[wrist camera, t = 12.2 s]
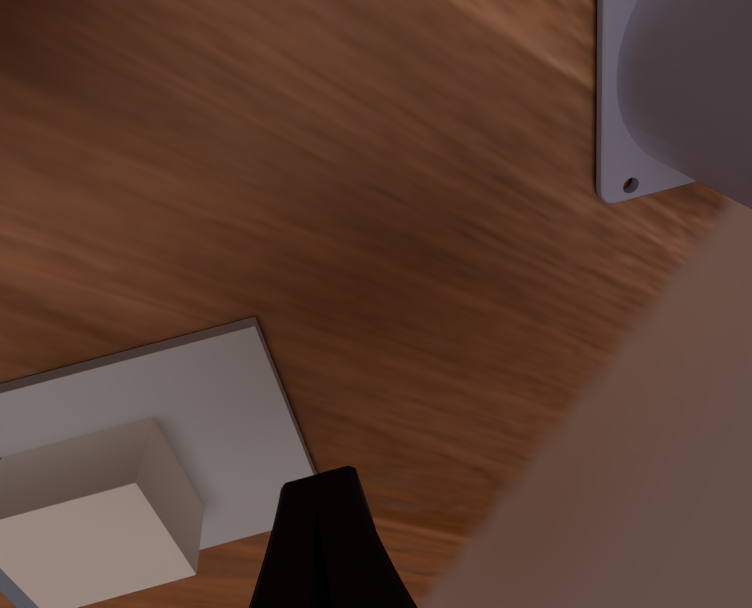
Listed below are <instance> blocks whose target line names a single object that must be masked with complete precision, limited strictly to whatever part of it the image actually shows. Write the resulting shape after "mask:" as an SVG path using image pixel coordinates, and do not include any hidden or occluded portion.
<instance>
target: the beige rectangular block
mask: <svg viewBox="0 0 752 608" xmlns="http://www.w3.org/2000/svg"><path fill="white" fill-rule="evenodd" d="M203 514H204V504H203V502H202V501H201V499H200V497H199V496H198V494H197V492H196V490H195V489H194V487H193V485H192V483H191V482H190V480H189V478H188V477H187V475H186V473H185V471H184V470H183V468H182V466H181V464H180V463H179V461H178V459H177V458H176V456H175V454H174V452H173V451H172V449H171V447H170V445H169V444H168V442H167V440H166V439H165V437H164V435H163V433H162V432H161V430H160V428H159V426H158V425H157V423H156V421H155V420H154V418H153V417H150V418H146V419H142V420H139V421H135V422H131V423H127V424H124V425H120V426H116V427H112V428H109V429H105V430H101V431H98V432H94V433H90V434H86V435H83V436H79V437H75V438H71V439H68V440H64V441H60V442H56V443H53V444H49V445H45V446H42V447H38V448H34V449H30V450H27V451H23V452H19V453H15V454H12V455H8V456H4V457H1V458H0V591H1V592H2V593H3V594H4V595H5V596H6V597H7V598H8V599H9V600H10V601H11V602H12V603H13V604H14V605H15V606H16V607H17V608H77V607H81V606H85V605H88V604H92V603H95V602H99V601H103V600H106V599H110V598H114V597H117V596H121V595H124V594H128V593H132V592H135V591H139V590H142V589H146V588H150V587H153V586H157V585H161V584H164V583H168V582H171V581H175V580H179V579H182V578H186V577H189V576H193V575H196V573H197V564H198V556H199V548H200V539H201V531H202V523H203Z"/></svg>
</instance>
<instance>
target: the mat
mask: <svg viewBox="0 0 752 608" xmlns="http://www.w3.org/2000/svg"><path fill="white" fill-rule="evenodd" d="M150 417H153V418H154V420H155V421H156V423H157V425H158V426H159V428H160V430H161V432H162V433H163V435H164V437H165V439H166V440H167V442H168V444H169V445H170V447H171V449H172V451H173V452H174V454H175V456H176V458H177V459H178V461H179V463H180V464H181V466H182V468H183V470H184V471H185V473H186V475H187V477H188V478H189V480H190V482H191V483H192V485H193V487H194V489H195V490H196V492H197V494H198V496H199V497H200V499H201V501H202V502H203V504H204V514H203V523H202V531H201V539H200V548H199V550H201V549H205V548H208V547H212V546H215V545H219V544H223V543H226V542H230V541H234V540H237V539H241V538H245V537H248V536H252V535H255V534H259V533H263V532H266V531H270V530H272V528H273V524H274V520H275V515H276V511H277V506H278V502H279V497H280V491H281V488H282V487H283V485H284V484H285V483H286V482H290V481H294V480H297V479H301V478H305V477H308V476H312V475H316V474H317V473H316V471H315V468H314V465H313V463H312V460H311V458H310V455H309V453H308V450H307V448H306V445H305V442H304V440H303V437H302V435H301V432H300V430H299V427H298V425H297V422H296V419H295V417H294V414H293V412H292V409H291V407H290V404H289V402H288V399H287V396H286V394H285V391H284V389H283V386H282V384H281V381H280V379H279V376H278V373H277V371H276V368H275V366H274V363H273V361H272V358H271V356H270V353H269V350H268V348H267V345H266V343H265V340H264V338H263V335H262V333H261V330H260V327H259V325H258V322H257V320H256V317H252V318H248V319H244V320H240V321H237V322H233V323H229V324H225V325H222V326H218V327H214V328H210V329H206V330H203V331H199V332H195V333H191V334H187V335H184V336H180V337H176V338H172V339H169V340H165V341H161V342H157V343H153V344H150V345H146V346H142V347H138V348H135V349H131V350H127V351H123V352H119V353H116V354H112V355H108V356H104V357H100V358H97V359H93V360H89V361H85V362H82V363H78V364H74V365H70V366H66V367H63V368H59V369H55V370H51V371H47V372H44V373H40V374H36V375H32V376H29V377H25V378H21V379H17V380H13V381H10V382H6V383H2V384H0V458H1V457H4V456H8V455H12V454H15V453H19V452H23V451H27V450H30V449H34V448H38V447H42V446H45V445H49V444H53V443H56V442H60V441H64V440H68V439H71V438H75V437H79V436H83V435H86V434H90V433H94V432H98V431H101V430H105V429H109V428H112V427H116V426H120V425H124V424H127V423H131V422H135V421H139V420H142V419H146V418H150Z"/></svg>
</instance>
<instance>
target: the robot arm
mask: <svg viewBox="0 0 752 608" xmlns="http://www.w3.org/2000/svg"><path fill="white" fill-rule="evenodd" d="M630 178H632V182H631V184H630V185H629V187H627V188H625V189H623V186H624V183H625V182H626V181H627V180H628V179H630ZM697 181H698V182H700V183H702V184H704V185H706V186H708V187H710V188H712V189H714V190H716V191H718V192H720V193H722V194H724V195H726V196H727V197H729V198H731V199H733V200H735V201H737V202H739V203H741V204H743V205H745V206H747V207H749V208H751V209H752V0H597V141H596V191H597V195H598V196H599V197H600V199H602V200H603V201H605V202H607V203H617V202H621V201H625V200H629V199H633V198H636V197H640V196H644V195H648V194H652V193H655V192H659V191H663V190H667V189H671V188H674V187H678V186H682V185H686V184H690V183H693V182H697ZM249 608H417V606H416V604H415V603H414V601H413V599H412V598H411V596H410V594H409V593H408V591H407V589H406V588H405V586H404V584H403V582H402V580H401V579H400V577H399V575H398V573H397V571H396V570H395V568H394V566H393V564H392V562H391V560H390V558H389V556H388V554H387V552H386V550H385V548H384V546H383V544H382V542H381V540H380V538H379V536H378V534H377V532H376V528H375V525H374V522H373V519H372V516H371V513H370V510H369V507H368V504H367V501H366V498H365V495H364V492H363V489H362V486H361V483H360V480H359V477H358V474H357V471H356V468H353V467H351V466H345V467H341V468H338V469H334V470H330V471H327V472H323V473H319V474H316V475H312V476H308V477H305V478H301V479H297V480H294V481H290V482H286V483H285V484H284V485H283V487H282V488H281V491H280V497H279V502H278V506H277V511H276V515H275V520H274V524H273V528H272V532H271V536H270V539H269V543H268V547H267V550H266V554H265V557H264V561H263V564H262V567H261V571H260V574H259V577H258V580H257V583H256V587H255V590H254V593H253V596H252V600H251V603H250V606H249Z"/></svg>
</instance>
